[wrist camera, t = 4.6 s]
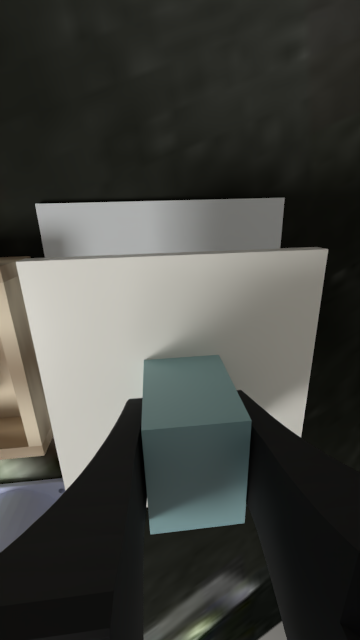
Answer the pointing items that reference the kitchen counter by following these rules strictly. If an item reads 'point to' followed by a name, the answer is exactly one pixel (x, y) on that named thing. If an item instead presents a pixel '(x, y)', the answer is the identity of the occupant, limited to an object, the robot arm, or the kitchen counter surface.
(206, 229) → the mat
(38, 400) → the box
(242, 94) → the kitchen counter surface
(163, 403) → the lid
